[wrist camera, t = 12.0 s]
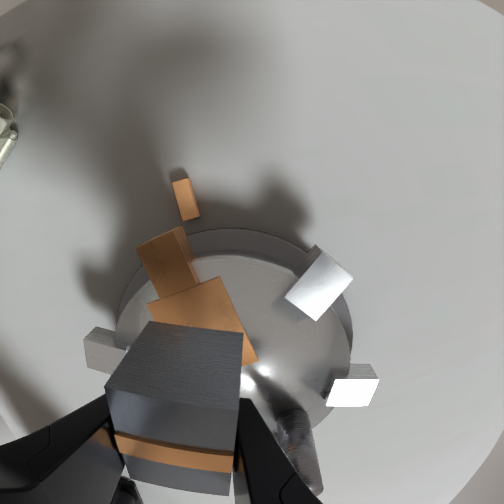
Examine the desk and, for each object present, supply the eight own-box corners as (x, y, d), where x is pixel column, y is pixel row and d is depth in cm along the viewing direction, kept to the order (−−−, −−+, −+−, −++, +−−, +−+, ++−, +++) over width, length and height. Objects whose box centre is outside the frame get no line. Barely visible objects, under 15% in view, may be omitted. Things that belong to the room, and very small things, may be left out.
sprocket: (409, 335, 15) (471, 408, 8) (240, 464, 18) (236, 541, 11) (222, 155, 13) (190, 130, 6) (73, 352, 16) (14, 418, 9)
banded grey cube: (234, 421, 10) (228, 498, 6) (156, 410, 10) (129, 480, 6) (243, 332, 9) (238, 413, 5) (149, 320, 9) (102, 388, 5)
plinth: (321, 426, 18) (323, 435, 18) (134, 408, 18) (130, 417, 17) (374, 198, 15) (381, 199, 14) (121, 175, 15) (113, 175, 14)
